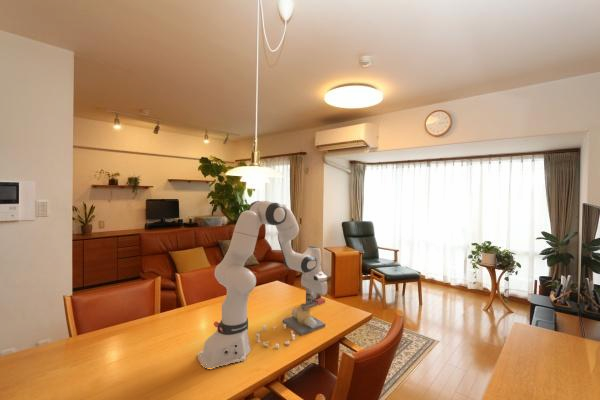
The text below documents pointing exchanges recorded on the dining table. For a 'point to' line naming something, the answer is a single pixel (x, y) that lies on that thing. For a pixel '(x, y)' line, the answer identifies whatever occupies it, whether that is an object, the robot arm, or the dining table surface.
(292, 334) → the game piece set
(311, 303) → the valve lever
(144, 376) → the dining table surface
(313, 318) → the valve base
